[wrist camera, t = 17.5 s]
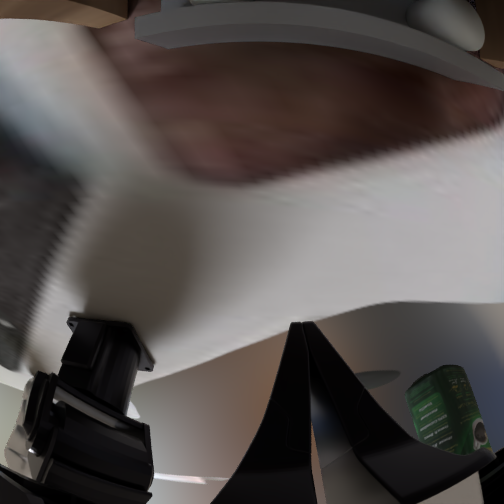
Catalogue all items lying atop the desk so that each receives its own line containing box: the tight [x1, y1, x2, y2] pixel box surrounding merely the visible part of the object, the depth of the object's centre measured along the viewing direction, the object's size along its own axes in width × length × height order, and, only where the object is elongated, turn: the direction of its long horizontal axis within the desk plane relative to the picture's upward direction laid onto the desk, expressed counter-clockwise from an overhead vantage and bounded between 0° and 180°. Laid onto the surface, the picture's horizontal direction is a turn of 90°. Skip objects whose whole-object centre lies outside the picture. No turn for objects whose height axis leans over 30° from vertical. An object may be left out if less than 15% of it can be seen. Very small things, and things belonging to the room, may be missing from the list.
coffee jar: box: [405, 365, 493, 455], centre depth 20 cm, size 10×8×19 cm
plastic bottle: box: [4, 377, 58, 479], centre depth 21 cm, size 6×7×20 cm
